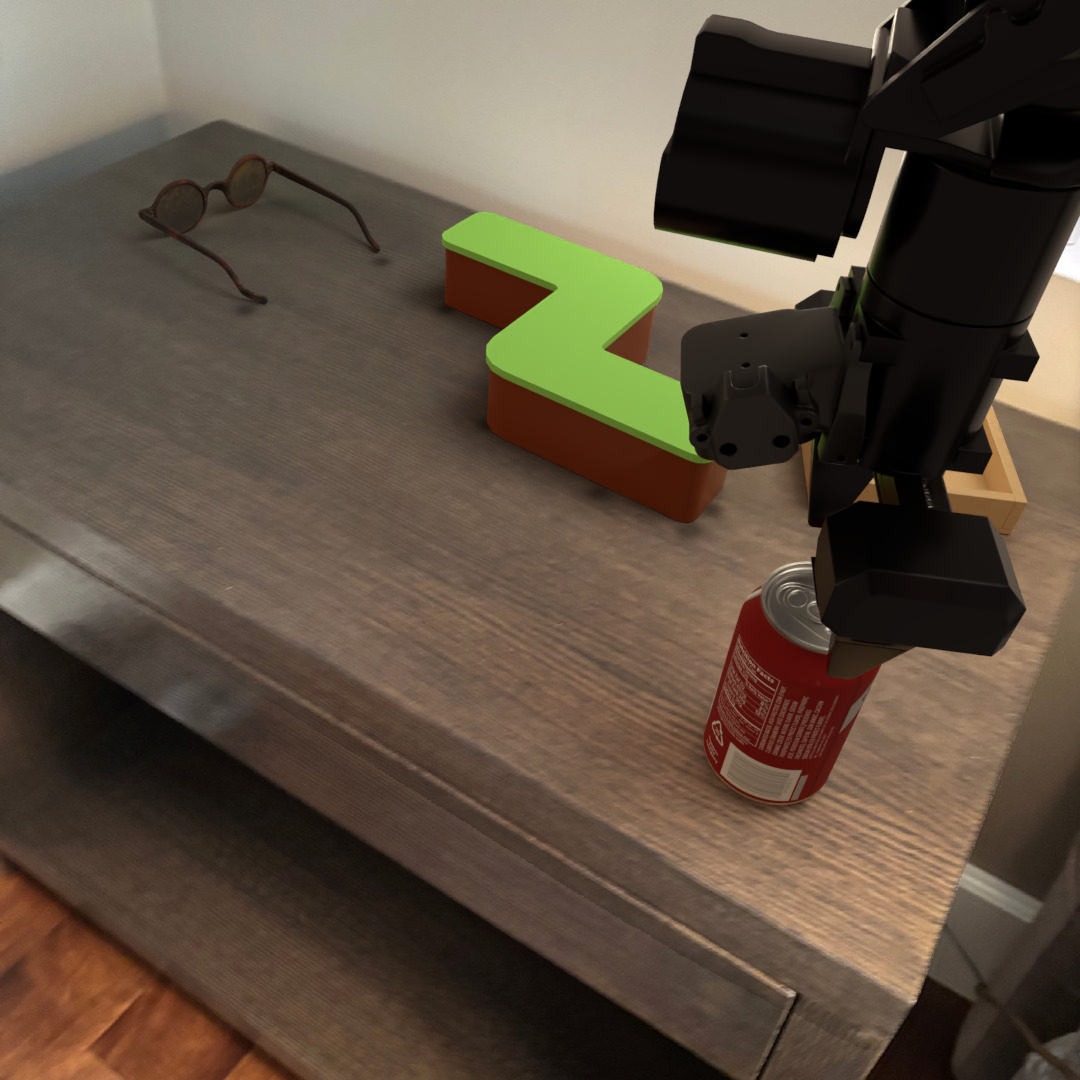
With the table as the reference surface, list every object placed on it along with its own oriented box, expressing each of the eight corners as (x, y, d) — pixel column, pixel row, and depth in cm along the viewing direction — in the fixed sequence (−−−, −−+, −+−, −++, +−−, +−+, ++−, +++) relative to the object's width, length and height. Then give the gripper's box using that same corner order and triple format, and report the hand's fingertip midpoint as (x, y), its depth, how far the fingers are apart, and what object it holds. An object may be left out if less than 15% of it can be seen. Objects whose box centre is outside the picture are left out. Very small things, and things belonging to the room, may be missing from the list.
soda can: (791, 837, 51) (860, 688, 43) (676, 763, 54) (720, 609, 45) (848, 750, 55) (921, 598, 47) (738, 685, 58) (789, 531, 50)
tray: (973, 422, 78) (987, 391, 76) (1010, 534, 69) (1028, 502, 67) (795, 401, 78) (804, 369, 76) (809, 509, 69) (820, 477, 67)
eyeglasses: (276, 193, 97) (270, 140, 94) (388, 248, 91) (386, 195, 87) (144, 245, 88) (132, 189, 85) (258, 310, 82) (250, 253, 79)
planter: (340, 365, 77) (335, 296, 73) (480, 272, 89) (482, 208, 85) (692, 531, 67) (709, 461, 63) (799, 401, 78) (819, 335, 74)
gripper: (711, 145, 42) (653, 444, 53) (722, 416, 28) (641, 743, 39) (984, 177, 42) (870, 471, 52) (1126, 467, 28) (932, 782, 39)
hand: (827, 594), depth 46 cm, fingers open, 9 cm apart
